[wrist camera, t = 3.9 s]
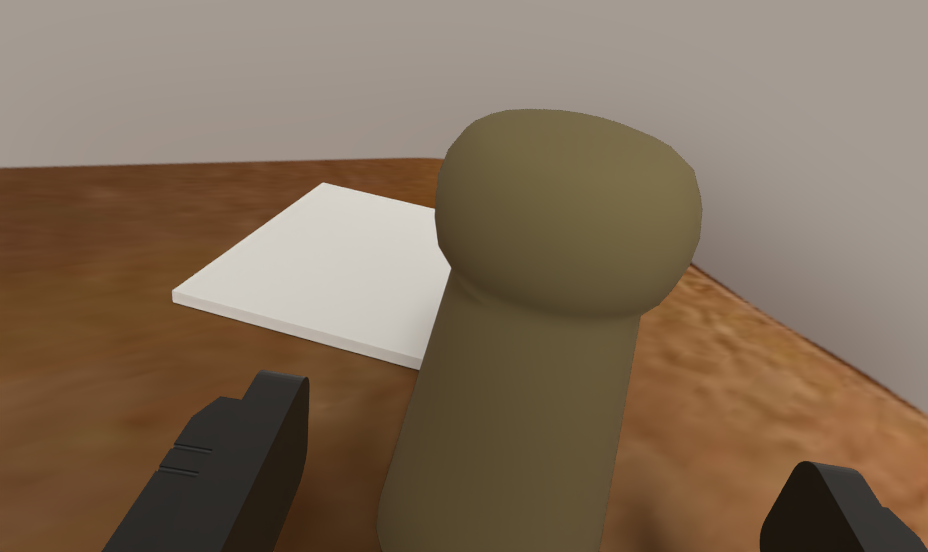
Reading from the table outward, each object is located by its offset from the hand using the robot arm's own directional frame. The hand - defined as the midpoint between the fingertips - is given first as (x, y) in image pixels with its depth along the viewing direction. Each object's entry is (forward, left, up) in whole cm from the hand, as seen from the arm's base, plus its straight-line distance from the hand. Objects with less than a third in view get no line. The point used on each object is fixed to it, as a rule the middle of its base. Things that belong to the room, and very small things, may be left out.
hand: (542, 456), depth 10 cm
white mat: (-8, +16, -7) cm, 19 cm away
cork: (-1, +4, -7) cm, 8 cm away
